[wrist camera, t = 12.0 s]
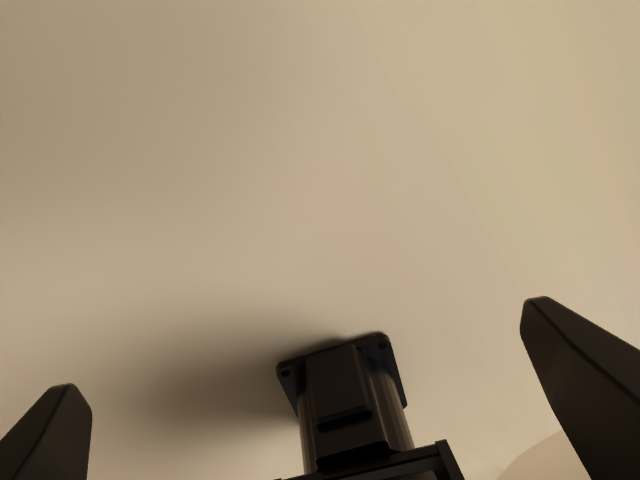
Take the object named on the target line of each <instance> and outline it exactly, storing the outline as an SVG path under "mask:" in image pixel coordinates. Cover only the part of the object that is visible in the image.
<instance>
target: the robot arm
mask: <svg viewBox="0 0 640 480" xmlns="http://www.w3.org/2000/svg"><path fill="white" fill-rule="evenodd" d="M520 335H521V339H522V341H523V343H524V346H525V348H526V350H527V353H528V355H529V358H530V360H531V362H532V365H533V367H534V369H535V372H536V374H537V376H538V379H539V381H540V383H541V386H542V388H543V390H544V393H545V395H546V397H547V399H548V402H549V404H550V406H551V408H552V410H553V412H554V414H555V416H556V417H557V419H558V421H559V423H560V425H561V426H562V428H563V430H564V432H565V433H566V435H567V437H568V438H569V441H570V442H571V444H572V446H573V448H574V449H575V451H576V453H577V454H578V456H579V458H580V460H581V462H582V464H583V465H584V467H585V469H586V471H587V472H588V474H589V476H590V478H591V480H640V350H639V349H637V348H636V347H634V346H632V345H630V344H629V343H627V342H625V341H624V340H622V339H620V338H618V337H617V336H615V335H613V334H611V333H610V332H608V331H606V330H605V329H603V328H601V327H599V326H598V325H596V324H594V323H593V322H591V321H589V320H587V319H586V318H584V317H582V316H581V315H579V314H577V313H575V312H574V311H572V310H570V309H568V308H567V307H565V306H563V305H562V304H560V303H558V302H556V301H555V300H553V299H551V298H549V297H547V296H540V297H535V298H529V299H527V300H525V302H524V304H523V310H522V316H521V322H520ZM379 343H382V344H379ZM284 370H287V371H284ZM276 374H277V377H278V379H279V381H280V383H281V385H282V387H283V389H284V391H285V393H286V395H287V397H288V399H289V401H290V403H291V405H292V407H293V409H294V411H295V413H296V415H297V417H298V419H299V428H300V437H301V447H302V456H303V466H304V475H301V476H297V477H292V478H288V479H284V480H465V479H464V477H463V475H462V473H461V470H460V468H459V466H458V464H457V462H456V460H455V458H454V455H453V453H452V451H451V449H450V447H449V445H448V443H447V440H446V439H444V440H440V441H435V444H432V445H427V446H423V447H419V448H415V446H414V443H413V440H412V437H411V433H410V430H409V427H408V424H407V421H406V418H405V414H404V411H403V409H404V408H405V407H406V406H407V401H406V397H405V394H404V390H403V386H402V383H401V379H400V375H399V372H398V368H397V364H396V361H395V357H394V353H393V350H392V346H391V343H390V340H389V337H388V336H387V335H385V334H378V335H375V336H371V337H368V338H364V339H361V340H358V341H354V342H351V343H347V344H344V345H340V346H337V347H333V348H330V349H326V350H323V351H319V352H316V353H312V354H309V355H305V356H302V357H299V358H295V359H292V360H288V361H285V362H282V363H279V364H278V365H277V367H276ZM91 429H92V411H91V408H90V406H89V405H88V403H87V401H86V400H85V398H84V397H83V395H82V394H81V392H80V391H79V389H78V388H77V386H76V385H74V384H72V383H67V384H62V385H57V386H53V387H50V388H49V389H48V390H47V391H46V392H45V393H44V394H43V395H42V396H41V397H40V398H39V399H38V400H37V401H36V403H35V404H34V405H33V406H32V407H31V408H30V409H29V410H28V411H27V412H26V413H25V414H24V416H23V417H22V418H21V419H20V420H19V421H18V422H17V423H16V424H15V425H14V426H13V427H12V429H11V430H10V431H9V432H8V433H7V434H6V435H5V436H4V437H3V438H2V439H1V440H0V480H87V470H88V460H89V450H90V439H91ZM275 480H282V479H281V478H279V479H275Z"/></svg>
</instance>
